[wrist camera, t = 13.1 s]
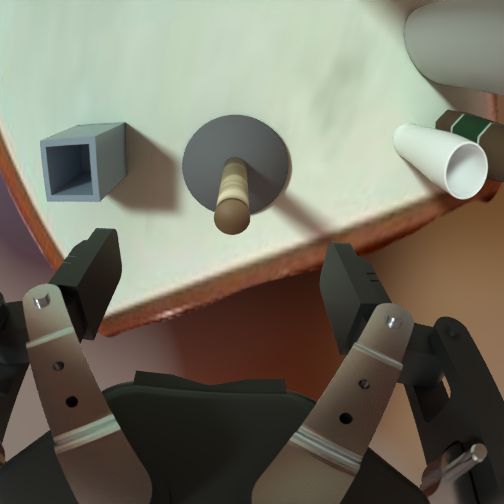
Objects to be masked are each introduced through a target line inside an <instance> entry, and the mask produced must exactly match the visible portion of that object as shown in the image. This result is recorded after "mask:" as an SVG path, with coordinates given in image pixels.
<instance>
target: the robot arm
mask: <svg viewBox="0 0 504 504" xmlns="http://www.w3.org/2000/svg"><path fill="white" fill-rule="evenodd" d="M121 273H122V262H121V256H120V249H119V242H118V235H117V231H116V230H115V229H106V228H96V229H95V230H94V232H93V233H92V235H91V236H90V237H89V239H88V240H83V241H82V242H81V243H79V244H78V245H76V246H75V247H74V248H73V249H72V250H71V252H70V253H69V255H68V257H66V259H65V260H64V262H63V263H62V264H61V266H60V267H59V269H58V270H57V271H56V273H55V274H54V276H53V277H52V279H51V280H50V282H49V283H48V284H43V285H39V286H36V287H34V288H32V289H31V290H30V291H28V293H26V295H25V297H24V299H23V301H17V302H10V303H6V302H5V299H4V297H3V295H2V294H1V292H0V504H504V401H503V398H502V396H501V394H500V392H499V390H498V388H497V386H496V384H495V382H494V379H493V377H492V375H491V373H490V371H489V369H488V367H487V365H486V363H485V361H484V360H483V357H482V356H481V354H480V352H479V350H478V348H477V346H476V344H475V343H474V341H473V339H472V337H471V335H470V334H469V332H468V330H467V329H466V327H465V326H464V325H463V324H462V323H461V322H459V321H458V320H456V319H454V318H451V317H440V318H439V319H438V320H437V321H436V323H435V325H434V326H433V327H430V326H425V325H421V324H417V323H414V320H413V317H412V316H411V314H410V313H409V312H408V311H407V310H405V309H404V308H403V307H401V306H398V305H396V304H392V302H391V300H390V299H389V297H388V295H387V293H386V291H385V289H384V287H383V286H382V284H381V282H379V278H378V277H377V275H375V274H376V273H375V271H374V269H373V268H372V266H371V265H370V263H368V262H367V261H366V260H365V259H364V258H363V257H361V256H357V255H356V253H355V251H354V249H353V248H352V246H351V244H350V243H342V242H330V243H329V245H328V248H327V252H326V256H325V260H324V264H323V268H322V272H321V276H320V290H321V294H322V297H323V301H324V304H325V307H326V310H327V313H328V317H329V320H330V323H331V326H332V330H333V333H334V336H335V340H336V343H337V347H338V350H339V353H340V355H347V357H346V358H345V360H344V362H343V363H342V365H341V366H340V368H339V370H338V371H337V373H336V374H335V376H334V378H333V379H332V381H331V383H330V384H329V385H328V387H327V389H326V390H325V392H324V393H323V395H322V396H321V398H320V399H319V401H318V402H315V401H314V400H312V399H310V398H308V397H306V396H304V395H302V394H299V393H296V392H293V391H289V390H286V384H285V379H246V380H240V381H235V382H229V383H223V384H217V385H205V384H201V383H198V382H194V381H191V380H188V379H184V378H181V377H178V376H175V375H171V374H161V373H152V372H143V371H136V374H135V378H134V381H130V382H125V383H121V384H117V385H114V386H112V387H109V388H107V389H105V390H103V391H102V392H101V390H100V388H99V386H98V384H97V382H96V380H95V377H94V375H93V373H92V371H91V369H90V367H89V364H88V362H87V360H86V357H85V355H84V353H83V350H82V348H81V345H80V343H81V341H82V339H87V340H94V339H95V336H96V333H97V331H98V329H99V327H100V324H101V322H102V319H103V317H104V315H105V312H106V310H107V308H108V305H109V303H110V301H111V299H112V296H113V294H114V292H115V290H116V287H117V285H118V283H119V281H120V278H121ZM29 364H31V369H32V373H33V377H34V380H35V384H36V388H37V391H38V394H39V398H40V401H41V405H42V408H43V411H44V414H45V417H46V419H47V423H48V426H49V428H50V430H49V431H48V432H46V433H45V434H44V435H43V436H41V437H40V438H38V439H37V440H36V441H34V442H33V443H32V444H30V445H29V446H28V447H26V448H25V449H24V450H22V451H21V452H19V453H18V454H17V455H15V456H14V457H13V458H11V459H10V460H9V461H7V462H6V461H5V451H4V448H3V445H2V442H3V438H4V435H5V431H6V428H7V425H8V422H9V418H10V415H11V412H12V409H13V406H14V403H15V401H16V398H17V395H18V392H19V390H20V387H21V384H22V381H23V379H24V376H25V374H26V371H27V369H28V366H29ZM444 376H445V377H446V379H447V382H448V384H449V387H450V390H451V395H450V399H449V397H448V394H447V392H446V389H445V387H444V384H443V381H442V379H443V377H444ZM396 383H402V384H404V387H405V390H406V393H407V396H408V399H409V402H410V406H411V409H412V412H413V416H414V419H415V423H416V426H417V429H418V433H419V437H420V440H421V444H422V448H423V452H424V456H425V460H426V464H427V467H426V468H425V470H424V471H423V474H422V480H421V481H422V484H421V485H420V488H418V487H417V486H416V485H415V484H414V483H412V482H411V481H410V480H408V479H407V478H406V477H405V476H403V475H402V474H401V473H400V472H398V471H397V470H396V469H395V468H394V467H392V466H391V465H390V464H389V463H387V462H386V461H385V460H384V459H382V458H381V457H380V456H379V455H378V454H376V453H375V452H374V451H373V450H372V449H371V448H369V447H368V446H369V444H370V442H371V440H372V437H373V436H374V434H375V432H376V430H377V427H378V426H379V423H380V421H381V419H382V417H383V414H384V412H385V410H386V408H387V405H388V403H389V401H390V398H391V396H392V393H393V391H394V388H395V386H396Z"/></svg>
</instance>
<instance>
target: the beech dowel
mask: <svg viewBox="0 0 504 504" xmlns="http://www.w3.org/2000/svg"><path fill="white" fill-rule="evenodd" d="M214 222H215V225H216V226H217V228H218V229H219V230H220V231H222V232H223V233H226V234H230V235H235V234H239V233H241V232H243V231H244V230H245V229H246V228H247V227H248V225H249V223H250V211H249V199H248V182H247V166H246V163H245V162H244V161H243V160H242V159H241V158H238V157H232V158H230V159H228V160H227V161H226V162H225V164H224V169H223V174H222V179H221V184H220V190H219V195H218V201H217V206H216V209H215V214H214Z"/></svg>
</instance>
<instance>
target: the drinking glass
mask: <svg viewBox="0 0 504 504" xmlns="http://www.w3.org/2000/svg"><path fill="white" fill-rule="evenodd" d="M393 146H394V148H395V150H396V152H397V153H398V154H399V155H400V156H401V157H403V158H405V159H406V160H407V161H409V162H410V163H411V164H412V165H413V166H415V167H416V168H417V169H418V170H419V171H420V172H421V173H423V174H424V175H425V176H426V177H427V178H428V179H429V180H431V181H432V182H433V183H434V184H435V185H437V186H438V187H439V188H441V189H442V190H444V191H445V192H447V193H448V194H450V195H452V196H453V197H455V198H457V199H468V198H471V197H473V196H474V195H475V194H477V193H478V192H479V191H480V189H481V188H482V186H483V185H484V183H485V180H486V177H487V172H488V161H487V157H486V154H485V152H484V150H483V149H482V148H481V147H480V146H479V145H478V144H477V143H475V142H473V141H471V140H469V139H467V138H465V137H462V136H460V135H457V134H454V133H451V132H447V131H443V130H438V129H433V128H429V127H424V126H420V125H416V124H413V123H404V124H402V125H400V126H399V127H398V128H397V129H396V131H395V133H394V135H393Z"/></svg>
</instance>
